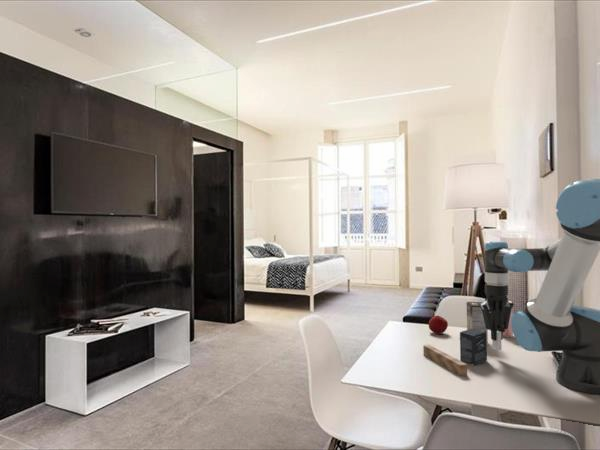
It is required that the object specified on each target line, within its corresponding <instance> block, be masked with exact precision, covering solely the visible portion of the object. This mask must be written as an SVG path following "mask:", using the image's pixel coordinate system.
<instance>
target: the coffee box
mask: <svg viewBox="0 0 600 450" xmlns="http://www.w3.org/2000/svg"><path fill="white" fill-rule="evenodd" d="M480 303H482V304H483V303H484V302H483V301H466V330H469V329H478V330H483V331H486V340H487V346H488V345H489V344H488V343H489V341H488V340H489V339H488V336H489V335H488V334H489V333H488V330H489V329H486V326H485V322H484V317H483V313H482V309H481V308H480V306H479V304H480Z"/></svg>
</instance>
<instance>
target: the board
mask: <svg viewBox="0 0 600 450" xmlns="http://www.w3.org/2000/svg"><path fill="white" fill-rule="evenodd" d="M422 347H423V350H422V351H423V356H425V357H427V358H428V359H430V360H432V361H434V362H435V363H437V364H439V365H440V366H442V367H444V368H446V369H447V370H449V371H451V372H452V373H454V374H456V375H458V376H460V377H465V376H468V363H465V362H462V361H460V360H459V359H458V358H455V357H453V356H452V355H450V354H447V352H444V351H443V350H440V349H438V348H436V347H434V346H432V345H431V344H424V345H423V346H422Z"/></svg>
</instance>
